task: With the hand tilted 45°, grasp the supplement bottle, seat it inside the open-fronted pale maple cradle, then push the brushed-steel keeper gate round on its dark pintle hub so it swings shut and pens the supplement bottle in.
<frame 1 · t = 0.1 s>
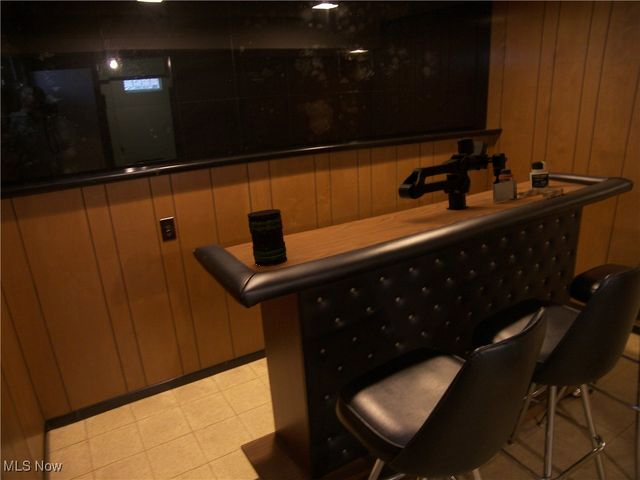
hand: (497, 159, 192), 17 cm above the table, tool horizontal, fingers open, 9 cm apart
medicine bottle: (539, 188, 210), on the table
cradle: (542, 196, 188), on the table
storage jar: (271, 262, 135), on the table
keeper gate: (505, 191, 186), point 4 cm above the table, hinge at 0.0°
supplement bottle: (506, 195, 202), on the table
cat figurine: (500, 190, 219), on the table
pintle plate: (514, 199, 189), on the table
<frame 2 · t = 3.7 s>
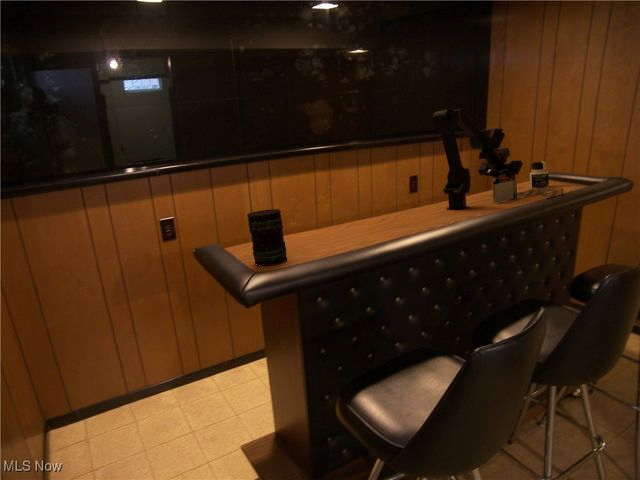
hand: (508, 179, 202), 7 cm above the table, tool tilted 45°, fingers closed on supplement bottle, 6 cm apart
supplement bottle: (506, 195, 202), on the table, touching gripper
everything else where it was.
when the fingers open (7 cm above the table, at t = 7.9 s): supplement bottle stays where it is, resting in cradle.
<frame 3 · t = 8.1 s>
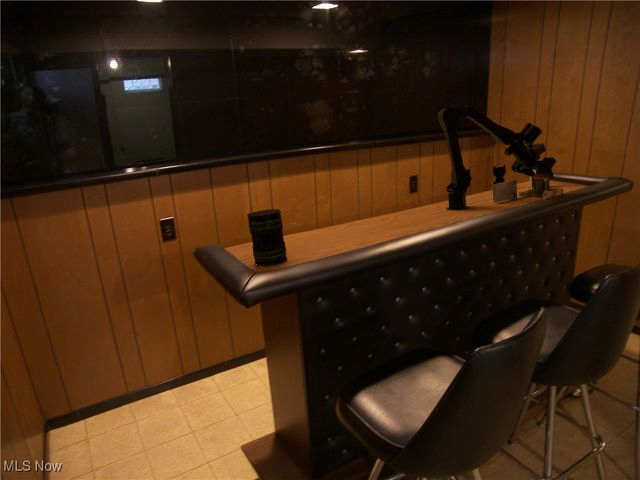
hand: (544, 177, 187), 8 cm above the table, tool tilted 45°, fingers open, 8 cm apart
supplement bottle: (541, 196, 188), resting in cradle
everything else where it was.
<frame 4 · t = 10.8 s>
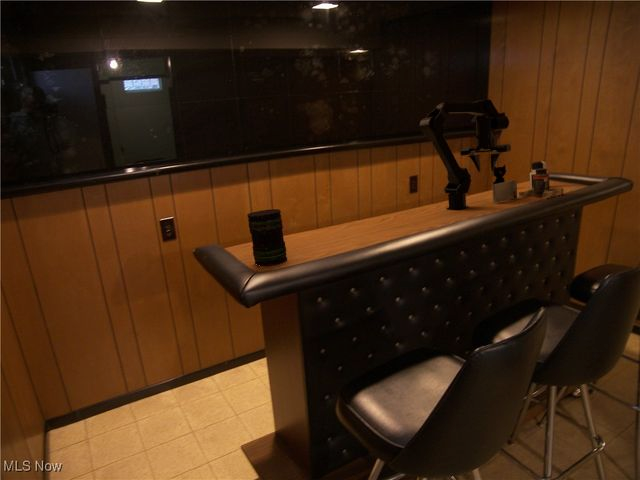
hand: (485, 171, 186), 13 cm above the table, tool pointing down, fingers open, 5 cm apart
nothing on the table moved.
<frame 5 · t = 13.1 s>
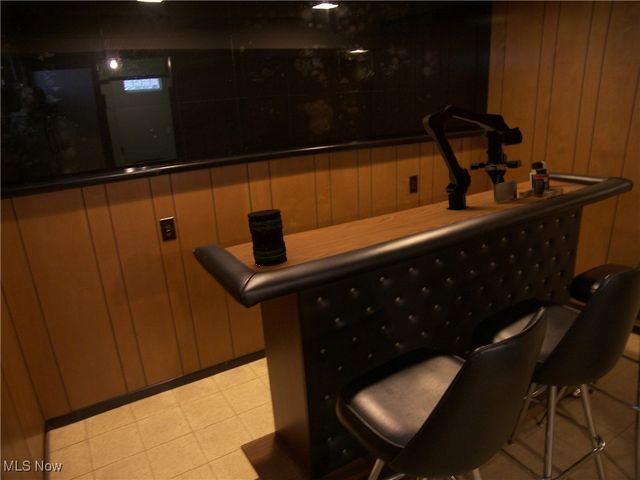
hand: (495, 186, 184), 7 cm above the table, tool pointing down, fingers closed
keeper gate: (505, 191, 185), point 4 cm above the table, hinge at 2.0°, touching gripper
everything else where it was.
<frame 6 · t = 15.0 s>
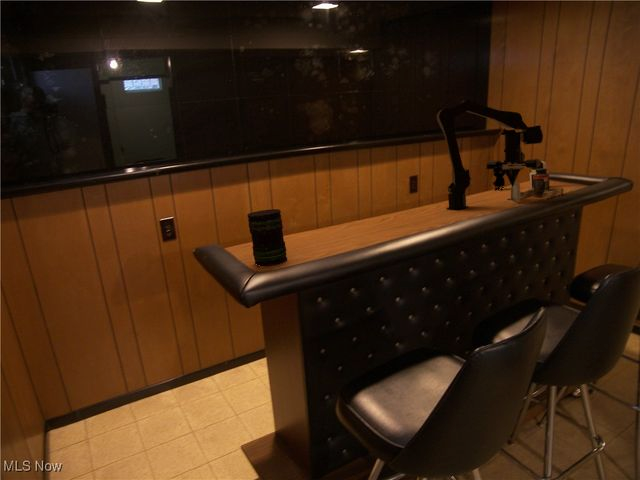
hand: (512, 186, 180), 7 cm above the table, tool pointing down, fingers closed
keeper gate: (515, 190, 183), point 4 cm above the table, hinge at 45.3°, touching gripper
everything else where it was.
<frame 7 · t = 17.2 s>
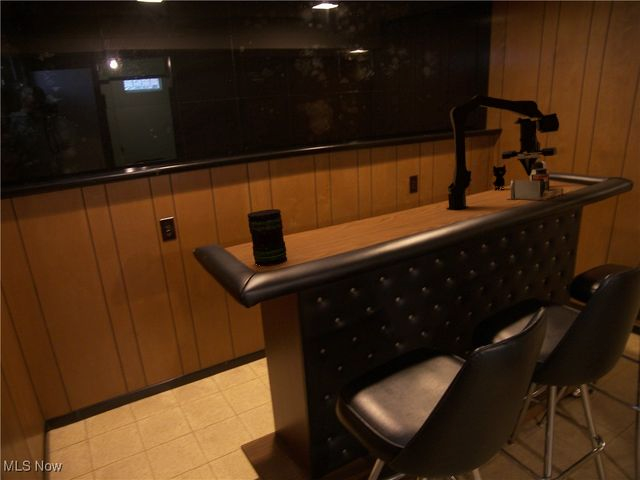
hand: (529, 175, 177), 10 cm above the table, tool pointing down, fingers closed
keeper gate: (524, 189, 183), point 4 cm above the table, hinge at 86.3°
everything else where it was.
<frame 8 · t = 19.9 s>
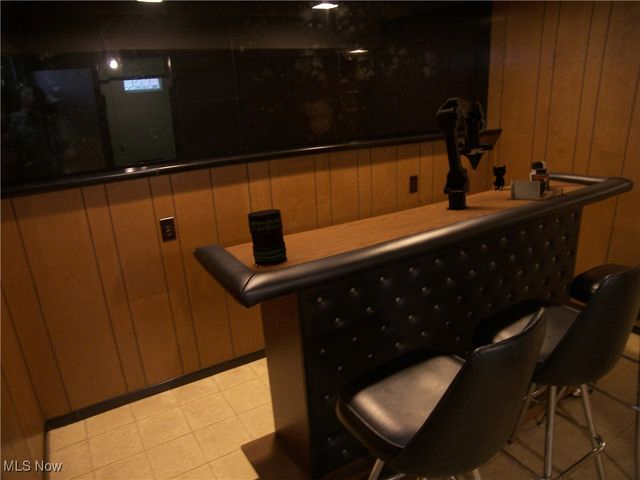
hand: (474, 169, 197), 13 cm above the table, tool pointing down, fingers closed
nothing on the table moved.
at the end: supplement bottle inside the target area on the cradle (0.8 cm from its centre), point 0.0 cm above the cradle's base; supplement bottle tilted 0°; keeper gate at +86° (first picture: +0°) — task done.
